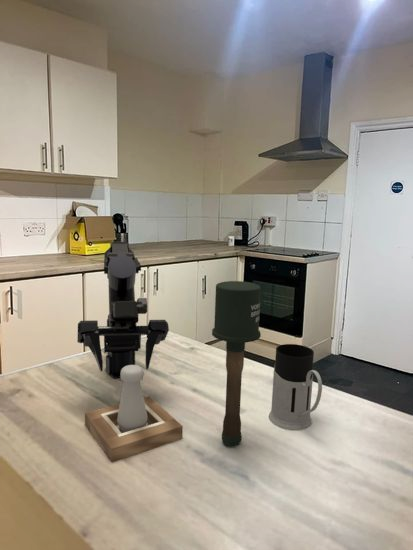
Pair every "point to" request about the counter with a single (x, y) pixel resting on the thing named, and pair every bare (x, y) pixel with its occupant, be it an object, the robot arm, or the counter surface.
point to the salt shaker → (131, 400)
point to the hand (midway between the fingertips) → (124, 369)
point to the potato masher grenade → (235, 344)
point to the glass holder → (293, 387)
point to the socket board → (136, 440)
